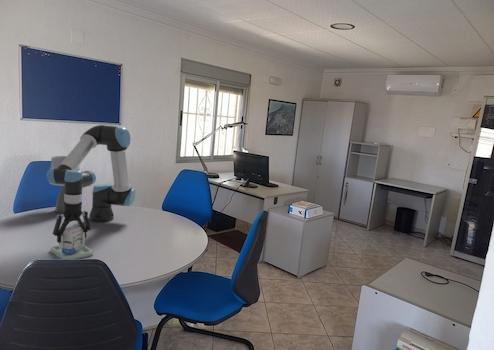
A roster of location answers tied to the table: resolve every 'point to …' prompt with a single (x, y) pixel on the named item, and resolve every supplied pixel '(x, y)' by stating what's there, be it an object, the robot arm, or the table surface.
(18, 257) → the table surface
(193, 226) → the table surface
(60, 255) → the tray
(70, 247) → the ink box
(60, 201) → the lamp
